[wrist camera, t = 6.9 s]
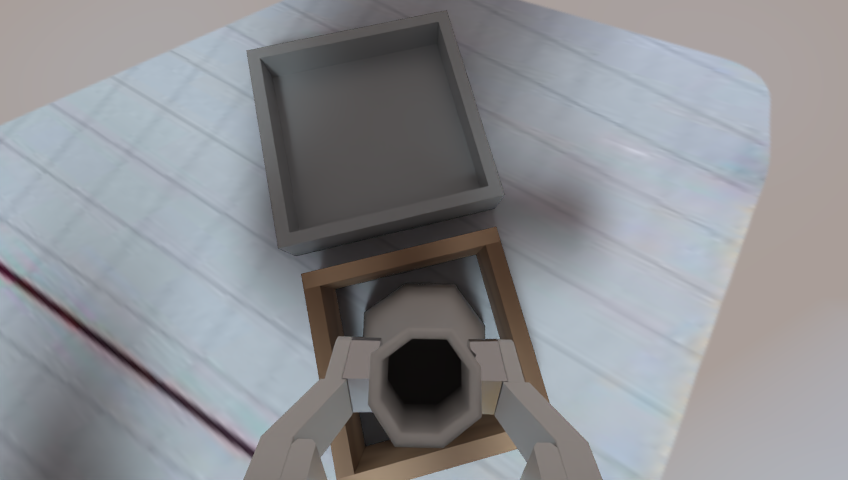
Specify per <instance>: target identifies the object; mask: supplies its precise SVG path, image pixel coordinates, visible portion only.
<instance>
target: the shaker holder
mask: <svg viewBox="0 0 848 480" xmlns="http://www.w3.org/2000/svg"><path fill="white" fill-rule="evenodd" d="M472 255H476V256H477V259H478V263H479V266H480V270H481V273H482V277H483V280H484V284H485V287H486V291H487V294H488V298H489V301H490V305H491V308H492V312H493V315H494V319H495V323H496V326H497V330H498V333H499V337H500V339H505V340H512V341H513V342H514V346H515V349H516V353H517V356H518V360H519V363H520V367H521V370H522V374H523V377H524V381H525V382H529V383H530V384H531V385H532V386H533V387H534V388H535V389H536V390H537V391H538V392H539V393H540V394H541V395H542V396H543V397H544V398H545V399H546V400H547V401H548V402H549V399H548V396H547V393H546V389H545V386H544V383H543V379H542V376H541V373H540V370H539V366H538V363H537V360H536V356H535V353H534V350H533V346H532V343H531V340H530V337H529V333H528V330H527V327H526V323H525V320H524V317H523V313H522V310H521V307H520V303H519V300H518V297H517V294H516V290H515V287H514V284H513V280H512V277H511V274H510V270H509V267H508V264H507V260H506V257H505V254H504V251H503V247H502V244H501V241H500V237H499V234H498V231H497V227H492V228H488V229H484V230H480V231H476V232H472V233H468V234H464V235H459V236H455V237H451V238H447V239H443V240H439V241H435V242H431V243H426V244H422V245H418V246H414V247H410V248H406V249H402V250H398V251H393V252H389V253H385V254H381V255H377V256H373V257H369V258H365V259H360V260H356V261H352V262H348V263H344V264H340V265H336V266H332V267H328V268H323V269H319V270H315V271H311V272H307V273H303V274H301V276H302V282H303V288H304V293H305V299H306V305H307V311H308V317H309V322H310V328H311V334H312V340H313V346H314V351H315V357H316V363H317V369H318V375H319V380H320V379H325V376H326V373H327V369H328V366H329V362H330V359H331V355H332V352H333V348H334V345H335V342H336V339H337V338H338V336H344V332H343V327H342V321H341V316H340V311H339V306H338V301H337V295H336V290H335V289H338V288H342V287H346V286H350V285H354V284H358V283H362V282H366V281H370V280H374V279H378V278H382V277H386V276H391V275H395V274H399V273H403V272H407V271H411V270H415V269H419V268H423V267H427V266H431V265H435V264H439V263H443V262H447V261H451V260H455V259H459V258H463V257H467V256H472ZM352 413H353V414H352V416H351V417H350V418H349V420H348V421H347V422H346V424H345V425H344V426H343V428H342V429H341V431H340V432H339V433H338V435H337V436H336V437H335V439H334V440H333V441H332V443H331V450H332V456H333V462H334V467H335V473H336V479H337V480H410V479H413V478H417V477H420V476H424V475H427V474H431V473H434V472H438V471H441V470H445V469H448V468H452V467H455V466H459V465H462V464H466V463H469V462H473V461H477V460H480V459H484V458H487V457H491V456H494V455H498V454H501V453H505V452H508V451H512V450H515V449H517V447H516V446H515V444H514V443H513V442H512V440H511V439H510V437H509V436H508V434H507V433H506V432H505V430H504V429H503V427H502V426H501V424H500V423H499V422H498V420H497V419H496V417H495V415H491V414H482V417H481V418H480V419H479V420H478V421H477V422H475V423H474V424H473V425H472V426H470V427H469V428H468V429H467V430H465V431H464V432H463V433H462V434H460V435H459V436H458V437H457V438H455V439H454V440H453V441H452V442H450V443H449V444H448V445H447V446H445V447H444V448H412V447H394V445H393V443H392V442H391V440H387V441H384V442H380V443H377V444H373V445H369V446H365V441H364V436H363V431H362V426H361V420H360V415H359V412H352Z"/></svg>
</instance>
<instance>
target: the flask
mask: <svg viewBox="0 0 848 480" xmlns="http://www.w3.org/2000/svg"><path fill="white" fill-rule="evenodd" d="M363 337H372V338H382V343H383V345H382V346H381V347H379V348H378V349H376V350H375V351H374V352H372V353H371V355H370V373H369V392H368V405H369V407H370V409H371V410H372V412H373V413H374V415H375V417H376V418H377V420H378V421H379V423H380V424H381V426H382V428H383V429H384V431H385V432H386V434H387V436H388V437H389V439H390V440H391V442H392V443H393V445H394V447H412V448H444V447H445V446H447V445H448V444H449V443H450V442H452V441H453V440H454V439H455V438H457V437H458V436H459V435H460V434H462V433H463V432H464V431H465V430H467V429H468V428H469V427H470V426H472V425H473V424H474V423H475V422H477V421H478V420H479V419H480V418H481V417H482V395H481V366H480V364H479V363H478V362H477V360H476V359H475V357H474V356H473V354H472V353H471V352H470V350H469V349H468V347H467V341H468V339H485V325H484V324H483V322H482V321H481V320H480V318H479V317H478V316H477V314H476V313H475V312H474V310H473V309H472V307H471V306H470V305H469V303H468V302H467V301H466V299H465V298H464V297H463V295H462V294H461V292H460V291H459V290H458V288H457V287H456V286H455V284H414V283H405V284H404V285H402V286H401V287H400V288H398V289H397V290H395V291H394V292H393V293H391V294H390V295H388V296H387V297H386V298H384V299H383V300H381V301H380V302H379V303H377V304H376V305H374V306H373V307H372V308H370V309H369V310H367V311H366V312H365V313H364V325H363Z"/></svg>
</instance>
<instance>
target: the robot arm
mask: <svg viewBox="0 0 848 480" xmlns="http://www.w3.org/2000/svg"><path fill="white" fill-rule="evenodd" d="M382 345H383V343H382V338H372V337H346V336H338V338H337V339H336V342H335V345H334V348H333V352H332V355H331V359H330V362H329V366H328V369H327V373H326V376H325V379H320V380H319V381H318V382H317V383H315V384H314V385H313V386H312V387H311V388H310V389H309V390H308V391H307V392H306V393H305V394H304V395H303V396H302V397H301V398H300V399H299V400H298V401H297V402H296V403H295V404H294V405H293V406H292V407H291V408H290V409H289V410H288V411H287V412H286V413H285V414H284V415H283V416H282V417H281V418H280V419H279V420H277V421H276V422H275V423H274V424H273V425H272V426H271V427H270V428H269V429H268V430H267V431H266V432H265V433H264V434H263V435H262V436H261V438H260V440H259V443H258V445H257V448H256V450H255V453H254V455H253V458H252V460H251V462H250V465H249V467H248V470H247V472H246V475H245V477H244V480H327V477H326V474H325V471H324V468H323V465H322V462H321V459H320V458H321V456H322V455H323V454H324V452H325V451H326V450H327V448H328V447H329V445H330V444H331V443H332V441H333V440H334V439H335V437H336V436H337V435H338V433H339V432H340V431H341V429H342V428H343V426H344V425H345V424H346V422H347V421H348V420H349V418H350V417H351V416H352V414H353V413H352V412H372V410H371V409H370V407H369V405H368V392H369V373H370V355H371V353H372V352H374V351H375V350H376V349H378V348H379V347H381V346H382ZM467 347H468V349H469V350H470V352H471V353H472V354H473V356H474V357H475V359H476V360H477V362H478V363H479V364H480V366H481V395H482V414H491V415H495V417H496V419H497V420H498V422H499V423H500V424H501V426H502V427H503V429H504V430H505V432H506V433H507V434H508V436H509V437H510V439H511V440H512V442H513V443H514V444H515V446H516V447H517V449H518V450H519V452H520V453H521V454H522V456H523V457H524V459H525V460H526V462H527V464H526V467H525V469H524V471H523V474H522V476H521V479H520V480H603V479H602V477H601V474H600V472H599V469H598V467H597V464H596V461H595V459H594V456H593V454H592V451H591V449H590V446H589V443H588V442H587V441H586V440H585V439H584V438H583V437H582V436H581V435H580V434H579V433H578V432H577V431H576V430H575V429H574V428H573V426H572V425H571V424H570V423H569V422H568V421H567V420H566V419H565V418H564V417H563V416H562V415H561V414H560V413H559V412H558V411H557V410H556V409H555V408H554V407H553V406H552V405H551V404H550V403H549V402H548V401H547V400H546V399H545V398H544V397H543V396H542V395H541V394H540V393H539V392H538V391H537V390H536V389H535V388H534V387H533V386H532V385H531V384H530V383H529V382H525V381H524V377H523V374H522V370H521V367H520V363H519V360H518V356H517V353H516V349H515V346H514V342H513V341H512V340H505V339H497V340H496V339H468V341H467Z"/></svg>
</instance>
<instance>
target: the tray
mask: <svg viewBox="0 0 848 480" xmlns="http://www.w3.org/2000/svg"><path fill="white" fill-rule="evenodd" d="M247 57H248V63H249V69H250V76H251V82H252V88H253V94H254V101H255V107H256V113H257V119H258V125H259V132H260V138H261V144H262V150H263V156H264V163H265V169H266V175H267V181H268V188H269V194H270V200H271V206H272V212H273V219H274V225H275V231H276V237H277V243H278V249H281V250H283V251H286V252H288V253H290V254H293V255H295V256H298V255H302V254H306V253H311V252H315V251H319V250H323V249H327V248H331V247H336V246H340V245H344V244H348V243H352V242H357V241H361V240H365V239H369V238H373V237H377V236H382V235H386V234H390V233H394V232H398V231H403V230H407V229H411V228H415V227H419V226H423V225H428V224H432V223H436V222H440V221H444V220H449V219H453V218H457V217H461V216H465V215H469V214H474V213H478V212H482V211H486V210H490V209H494V208H495V207H496V206H497V204H498V203H499V202H500V200H501V199H502V198H503V196H504V195H505V194H504V191H503V188H502V185H501V182H500V179H499V175H498V172H497V169H496V166H495V163H494V159H493V156H492V153H491V150H490V147H489V144H488V140H487V137H486V134H485V131H484V128H483V124H482V121H481V118H480V115H479V112H478V109H477V105H476V102H475V99H474V96H473V93H472V89H471V86H470V83H469V80H468V77H467V74H466V70H465V67H464V64H463V61H462V58H461V54H460V51H459V48H458V45H457V42H456V39H455V35H454V32H453V29H452V26H451V23H450V19H449V16H448V13H447V10H446V11H441V12H436V13H431V14H426V15H421V16H416V17H411V18H406V19H401V20H396V21H391V22H386V23H381V24H376V25H371V26H366V27H361V28H356V29H351V30H346V31H341V32H336V33H331V34H326V35H321V36H316V37H312V38H307V39H302V40H297V41H292V42H287V43H282V44H277V45H272V46H267V47H262V48H257V49H252V50H247Z"/></svg>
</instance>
